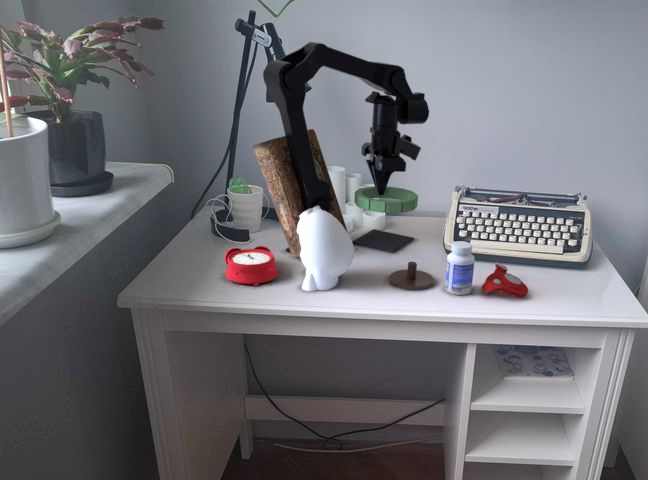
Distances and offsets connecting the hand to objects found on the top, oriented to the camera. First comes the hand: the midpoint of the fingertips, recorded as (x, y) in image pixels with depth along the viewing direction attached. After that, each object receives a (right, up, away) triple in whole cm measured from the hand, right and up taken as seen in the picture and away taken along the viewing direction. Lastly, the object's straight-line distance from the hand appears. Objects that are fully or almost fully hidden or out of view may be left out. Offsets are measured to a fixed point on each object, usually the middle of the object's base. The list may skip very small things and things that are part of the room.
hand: (380, 193), depth 149 cm
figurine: (-10, -23, -20) cm, 32 cm away
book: (-14, -14, -5) cm, 20 cm away
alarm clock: (-26, -21, -19) cm, 38 cm away
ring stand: (+7, -23, -19) cm, 30 cm away
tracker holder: (+26, -24, -19) cm, 41 cm away
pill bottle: (+16, -25, -21) cm, 37 cm away
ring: (+1, -4, -5) cm, 6 cm away
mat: (+1, -11, +2) cm, 11 cm away
